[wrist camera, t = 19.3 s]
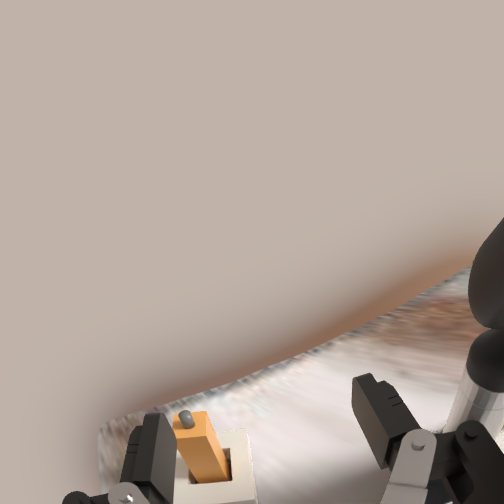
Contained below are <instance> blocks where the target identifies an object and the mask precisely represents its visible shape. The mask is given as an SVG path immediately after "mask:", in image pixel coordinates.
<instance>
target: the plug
mask: <svg viewBox="0 0 504 504" xmlns="http://www.w3.org/2000/svg"><path fill="white" fill-rule="evenodd" d="M172 430H173V431H174V433H175V436H176V440H177V449H178V451H179V453H180V454H181V456H182V458H183V459H184V461H185V463H186V464H187V466H188V468H189V469H190V471H191V472H192V474H193V475H194V477H195V479H196V480H197V482H198V483H199V484H205V483H217V482H227V481H230V472H229V464H228V462H227V459H226V457H225V455H224V453H223V450H222V448H221V446H220V443H219V441H218V439H217V436H216V434H215V432H214V429H213V427H212V424H211V422H210V419H209V417H208V414H207V412H206V411H201V412H193V413H190V411H188V410H184V411H181V412H180V413H179V414H174V419H173V429H172Z"/></svg>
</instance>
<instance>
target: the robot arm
mask: <svg viewBox="0 0 504 504" xmlns="http://www.w3.org/2000/svg"><path fill="white" fill-rule="evenodd" d="M468 297H469V303H470V308H471V310H472V313H473V315H474V317H475V319H476V320H477V321H478V322H479V323H480V324H481V325H483V326H484V327H488V328H492V329H490V330H488V331H486V332H484V333H482V334H481V335H479V336H478V337H477V338H476V339H475V341H474V342H473V344H472V345H471V348H470V351H469V354H468V358H467V362H466V365H465V369H464V372H463V376H462V379H461V383H460V386H459V389H458V392H457V395H456V398H455V401H454V404H453V406H452V409H451V412H450V414H449V417H448V420H447V422H446V425H445V427H444V430H443V432H442V433H441V434H433V433H431V432H430V431H428V430H425V429H422V428H421V427H420V426H419V424H418V423H417V421H416V420H415V418H414V417H413V415H412V414H411V412H410V411H409V409H408V408H407V406H406V405H405V403H403V400H402V399H401V397H400V396H399V394H398V393H397V391H396V390H395V388H394V387H393V386H392V385H390V384H389V383H387V382H386V381H381V382H378V383H377V382H376V380H375V378H374V377H373V375H372V374H371V373H367V374H364V375H361V376H358V377H354V378H353V381H352V408H353V412H354V414H355V416H356V418H357V420H358V423H359V425H360V427H361V429H362V431H363V433H364V435H365V437H366V439H367V441H368V443H369V445H370V447H371V450H372V452H373V454H374V456H375V458H376V460H377V462H378V464H379V466H380V468H381V469H384V468H386V467H389V468H390V470H391V472H392V473H391V476H390V478H389V481H388V484H387V487H386V489H385V492H384V495H383V497H382V500H381V502H380V504H424V503H425V499H426V496H427V491H428V488H427V483H428V481H429V480H435V479H440V478H441V480H442V482H443V484H444V486H445V488H446V490H447V492H448V494H449V497H450V499H451V501H452V503H453V504H504V454H503V453H502V451H501V450H500V448H499V447H498V445H497V444H496V442H495V439H496V438H497V436H498V434H499V432H500V431H501V429H502V427H503V425H504V218H503V219H502V221H501V222H500V223H499V224H498V225H497V227H496V228H495V229H494V230H493V232H492V233H491V234H490V235H489V237H488V238H487V239H486V240H485V241H484V243H483V244H482V246H481V247H480V249H479V251H478V253H477V255H476V257H475V259H474V262H473V265H472V269H471V273H470V278H469V285H468ZM126 452H127V454H126V455H125V460H124V465H123V470H122V474H121V479H120V482H119V483H118V484H116V485H115V486H113V487H112V488H111V490H110V491H109V493H107V494H103V495H98V496H93V497H89V496H87V495H86V494H85V493H83V492H79V491H75V492H71V493H69V494H68V495H67V496H66V497H65V498H64V500H63V502H62V504H173V498H174V482H175V467H176V454H177V440H176V436H175V433H174V431H173V430H172V428H171V426H170V424H169V422H168V420H167V418H166V416H165V415H164V413H151V414H145V416H144V421H143V426H136V427H135V429H134V430H133V431H132V433H131V434H130V438H129V442H128V446H127V451H126Z"/></svg>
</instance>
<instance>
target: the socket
mask: <svg viewBox="0 0 504 504" xmlns="http://www.w3.org/2000/svg"><path fill="white" fill-rule="evenodd" d="M215 434H216V436H217V439H218V441H219V443H220V446H221V448H222V450H223V453H224V455H225V457H226V459H227V460H230V459H231V467H232V479H233V481H227V482H217V483H205V484H195V477H194V475H193V474H192V472H191V471H190V469H189V468H188V466H187V464H186V463H185V461H184V459H183V458H182V456H181V454H180V453H179V451H178V449H177V454H176V467H175V482H174V498H173V504H258V499H257V492H256V485H255V478H254V471H253V463H252V456H251V449H250V441H249V437H248V434H247V431H246V428H241V429H235V430H228V431H221V432H215Z"/></svg>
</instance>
